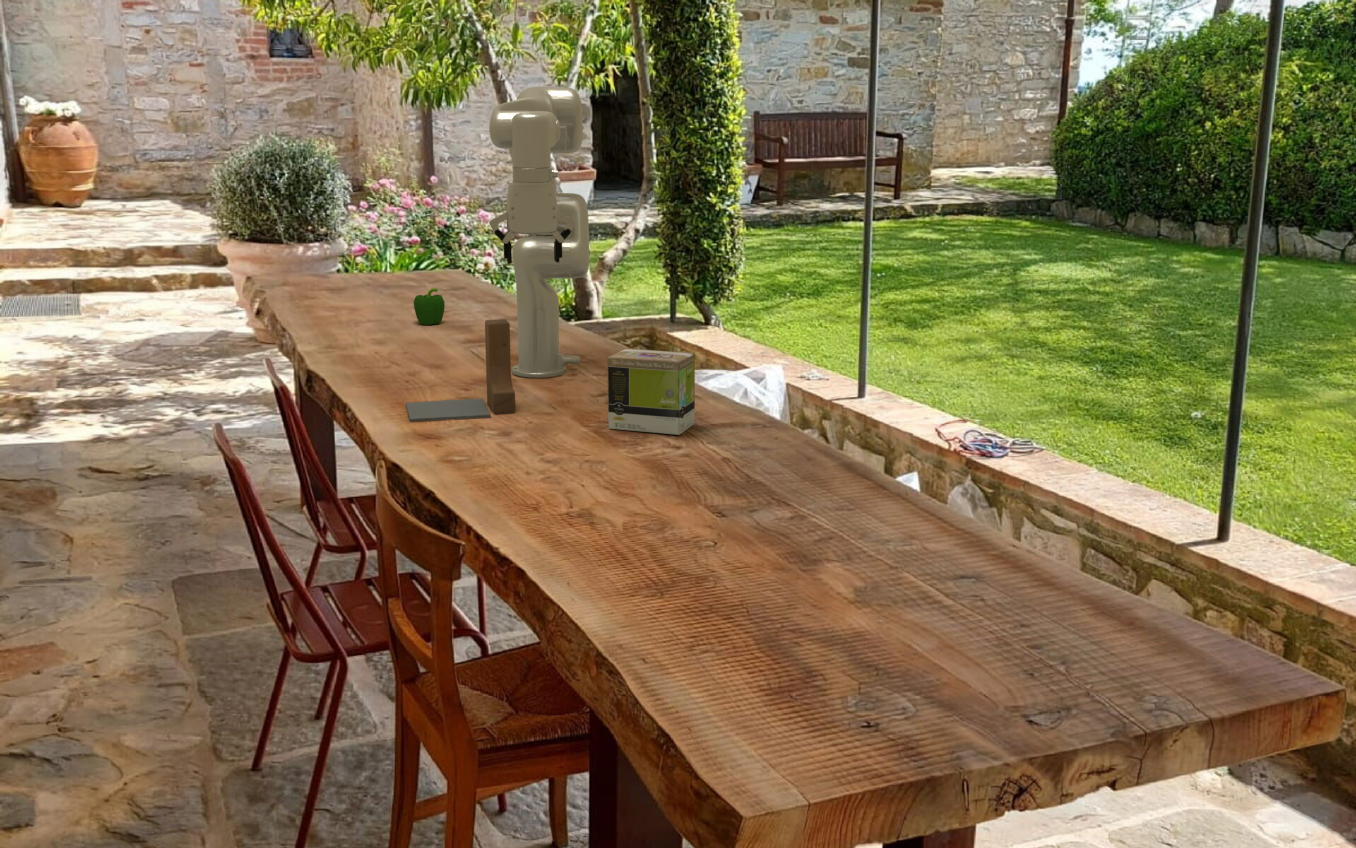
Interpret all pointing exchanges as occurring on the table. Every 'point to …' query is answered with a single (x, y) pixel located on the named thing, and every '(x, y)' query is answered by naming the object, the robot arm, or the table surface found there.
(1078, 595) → the table surface
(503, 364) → the wooden block
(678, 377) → the tea box
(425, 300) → the bell pepper
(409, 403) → the mat
